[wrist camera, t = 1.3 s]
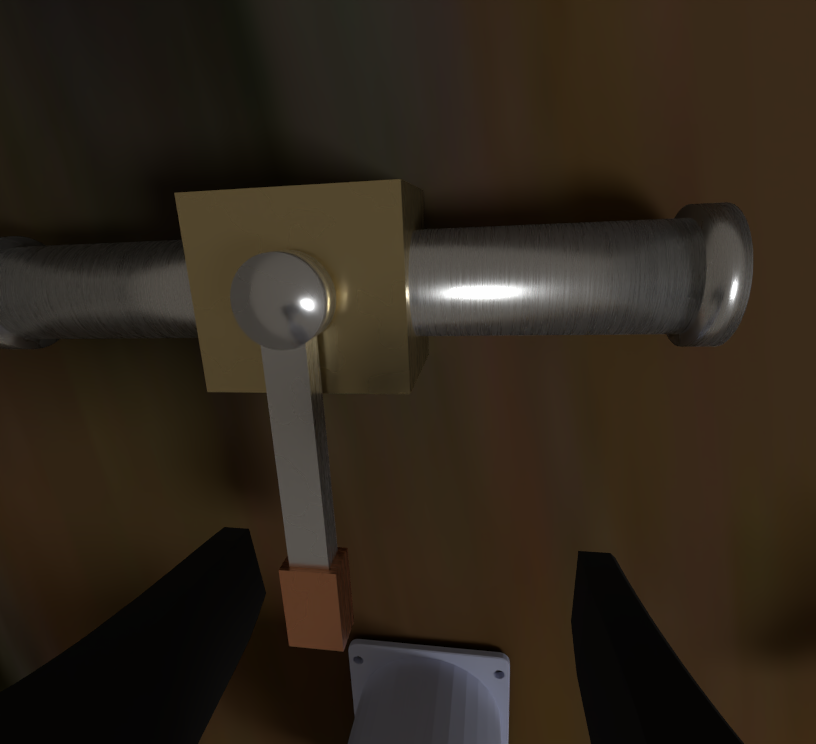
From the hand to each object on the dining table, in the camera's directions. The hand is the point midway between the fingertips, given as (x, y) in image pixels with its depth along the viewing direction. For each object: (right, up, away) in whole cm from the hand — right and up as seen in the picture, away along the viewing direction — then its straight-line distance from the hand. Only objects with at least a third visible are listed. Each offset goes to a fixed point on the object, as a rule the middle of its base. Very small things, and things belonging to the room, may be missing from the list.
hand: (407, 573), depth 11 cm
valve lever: (-3, +2, +6) cm, 7 cm away
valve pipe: (-3, +8, +9) cm, 13 cm away
